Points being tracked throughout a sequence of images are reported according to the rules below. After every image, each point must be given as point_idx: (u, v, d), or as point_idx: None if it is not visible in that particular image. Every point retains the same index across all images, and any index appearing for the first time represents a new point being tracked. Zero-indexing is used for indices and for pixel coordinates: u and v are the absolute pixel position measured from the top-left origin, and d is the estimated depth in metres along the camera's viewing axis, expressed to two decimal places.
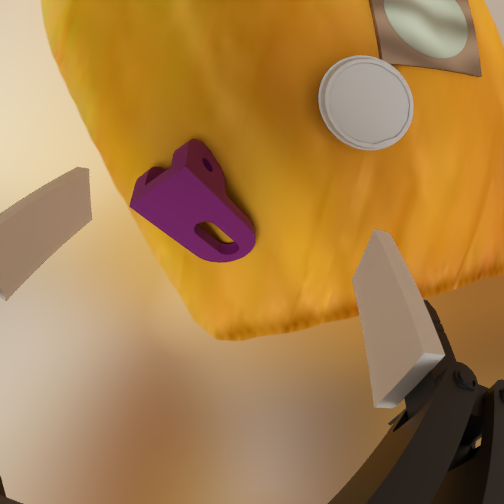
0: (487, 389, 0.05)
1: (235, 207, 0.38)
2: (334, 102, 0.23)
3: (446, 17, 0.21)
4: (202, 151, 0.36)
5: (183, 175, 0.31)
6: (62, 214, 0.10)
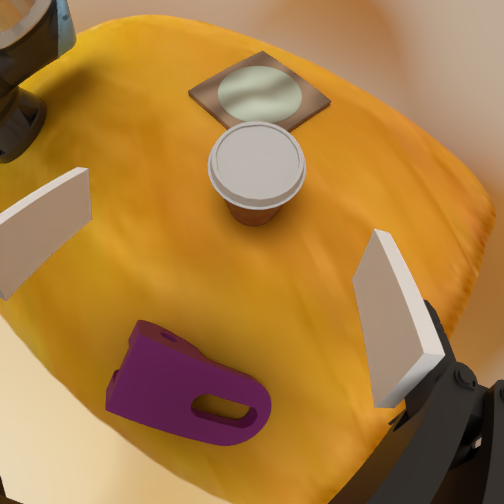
0: (487, 389, 0.05)
1: (222, 366, 0.30)
2: (229, 179, 0.26)
3: (273, 83, 0.41)
4: (157, 328, 0.32)
5: (143, 346, 0.25)
6: (62, 214, 0.10)
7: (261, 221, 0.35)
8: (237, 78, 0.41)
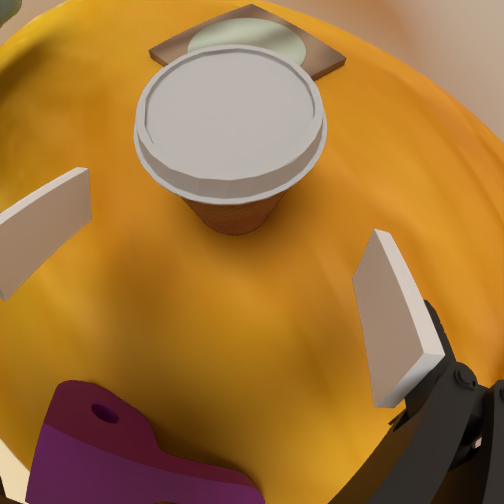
0: (487, 389, 0.05)
1: (188, 463, 0.15)
2: (166, 142, 0.11)
3: (265, 36, 0.27)
4: (91, 395, 0.17)
5: (52, 440, 0.11)
6: (62, 214, 0.10)
7: (245, 227, 0.20)
8: (216, 31, 0.26)
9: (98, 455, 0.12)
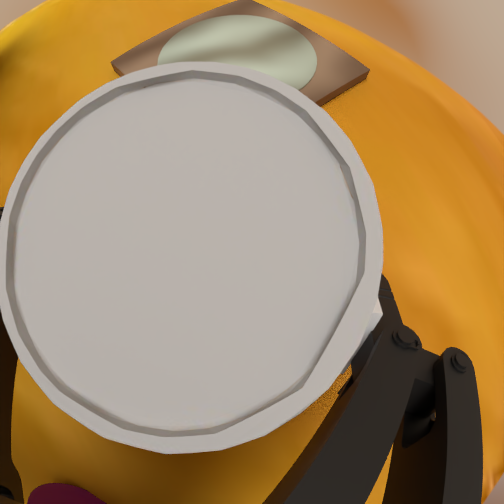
0: (436, 358, 0.06)
1: None
2: (44, 329, 0.05)
3: (262, 38, 0.20)
4: (65, 501, 0.10)
5: None
6: None
7: None
8: (197, 33, 0.20)
9: None
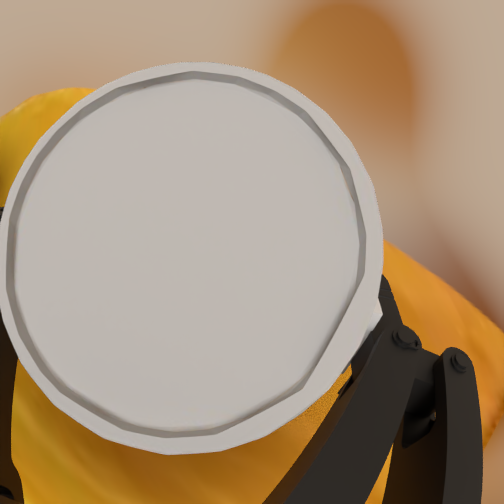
0: (436, 358, 0.06)
1: None
2: (44, 330, 0.05)
3: None
4: None
5: None
6: None
7: None
8: None
9: None
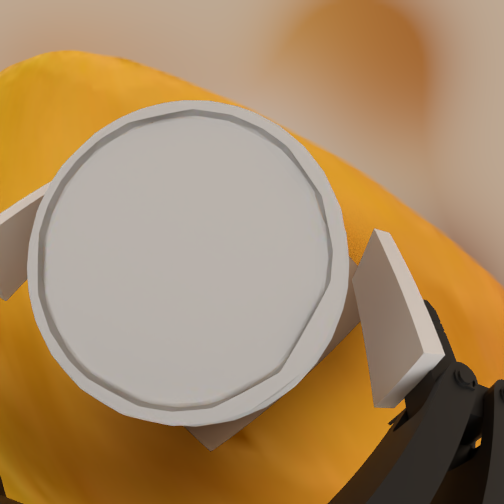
0: (487, 389, 0.05)
1: None
2: (72, 327, 0.06)
3: None
4: None
5: None
6: None
7: None
8: None
9: None
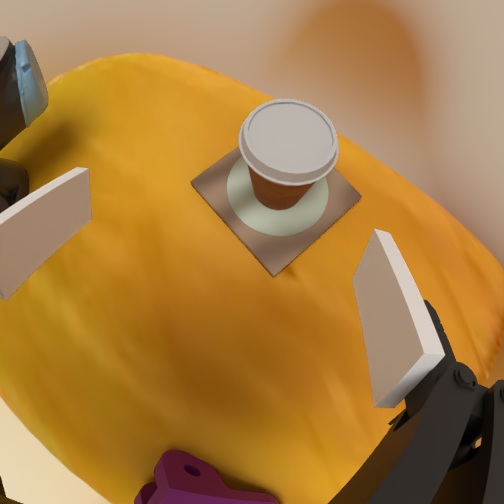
0: (487, 389, 0.05)
1: (243, 493, 0.25)
2: (262, 152, 0.24)
3: None
4: (180, 459, 0.27)
5: (173, 494, 0.21)
6: (62, 214, 0.10)
7: (288, 204, 0.33)
8: None
9: (198, 497, 0.22)
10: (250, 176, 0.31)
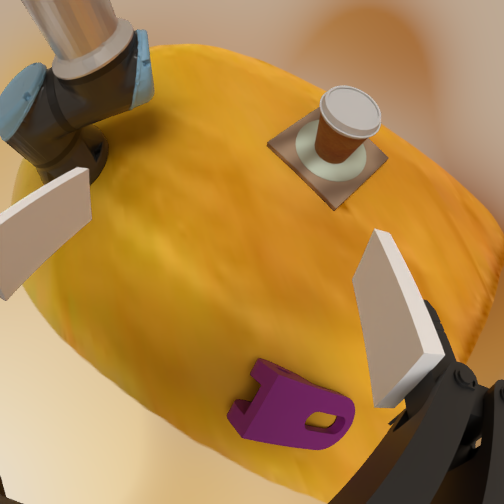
0: (487, 389, 0.05)
1: (325, 389, 0.37)
2: (338, 116, 0.35)
3: None
4: (271, 364, 0.38)
5: (280, 383, 0.32)
6: (62, 214, 0.10)
7: (343, 158, 0.44)
8: (310, 132, 0.48)
9: (298, 386, 0.33)
10: (320, 136, 0.42)
